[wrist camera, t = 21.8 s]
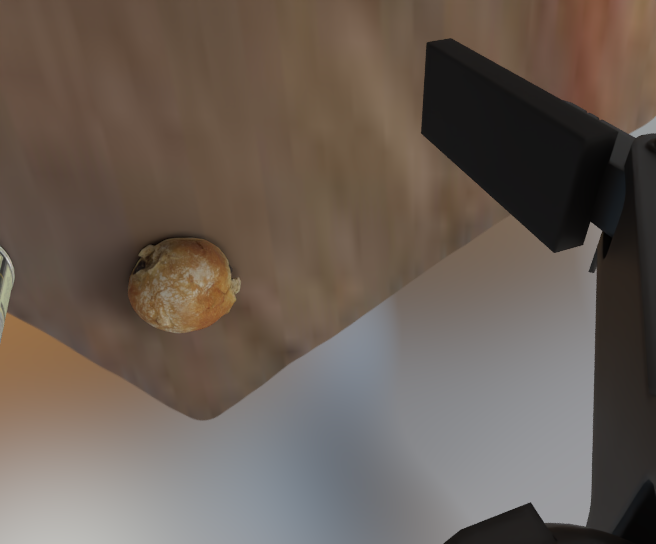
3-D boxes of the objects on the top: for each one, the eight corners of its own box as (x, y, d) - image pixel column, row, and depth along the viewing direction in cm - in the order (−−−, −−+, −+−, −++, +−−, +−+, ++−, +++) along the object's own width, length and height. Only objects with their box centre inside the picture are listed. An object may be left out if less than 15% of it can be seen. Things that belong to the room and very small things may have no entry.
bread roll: (175, 205, 53) (146, 231, 46) (261, 262, 55) (248, 296, 48) (129, 279, 56) (96, 314, 49) (212, 330, 58) (193, 371, 51)
